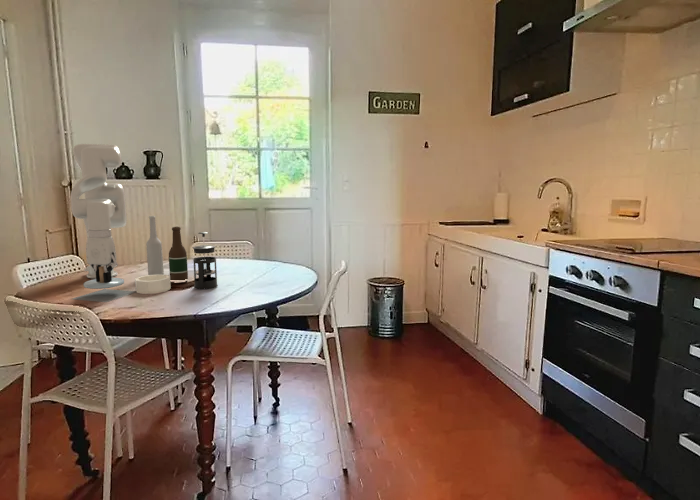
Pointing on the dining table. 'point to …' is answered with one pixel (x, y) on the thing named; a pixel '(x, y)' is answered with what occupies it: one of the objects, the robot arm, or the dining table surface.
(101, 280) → the lid
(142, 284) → the bowl
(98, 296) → the mat
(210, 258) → the french press
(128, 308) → the dining table surface
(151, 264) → the bottle
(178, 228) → the beer bottle
